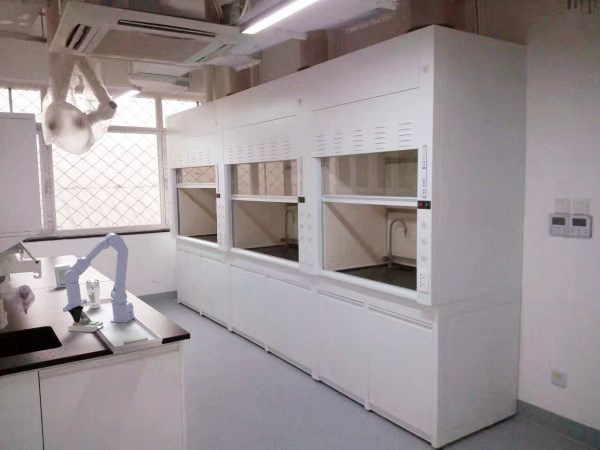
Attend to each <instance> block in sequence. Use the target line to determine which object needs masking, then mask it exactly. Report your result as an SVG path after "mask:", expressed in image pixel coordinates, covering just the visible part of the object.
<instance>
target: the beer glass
mask: <svg viewBox="0 0 600 450" xmlns="http://www.w3.org/2000/svg"><path fill="white" fill-rule="evenodd" d="M100 287H101V286H100V282H99V279H89V280H86V281H85V289H86V293H87V295H86V296H87V298H88V302H89V306H88V308H89V309H90V308H94V309H99V308H101V307H102V304H101V301H100V294H101V288H100ZM98 307H99V308H98Z"/></svg>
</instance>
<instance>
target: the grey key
mask: <svg viewBox="0 0 600 450" xmlns="http://www.w3.org/2000/svg"><path fill="white" fill-rule="evenodd" d="M90 319H91V318H86V317H84V318H82V319H80V324H81V325H88V324H89V323H90V321H91V320H90Z"/></svg>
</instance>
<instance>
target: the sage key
mask: <svg viewBox="0 0 600 450" xmlns="http://www.w3.org/2000/svg"><path fill="white" fill-rule="evenodd" d="M98 322H99V321H92V322H91V323H89V325H96V324H98Z"/></svg>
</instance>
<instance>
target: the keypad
mask: <svg viewBox="0 0 600 450" xmlns="http://www.w3.org/2000/svg"><path fill="white" fill-rule="evenodd" d="M91 322H92V321H91V320H90V323H91ZM97 322H98V324H96V325H89V324H88V325H81V324H79V325H73V324H72V323H71V324H69V325H67V330H68V332H89V333H90V332H91V333H92V332H96V331H97V330H96V329H97V326H102V325H103V326H104V322H103V321H97Z"/></svg>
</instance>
